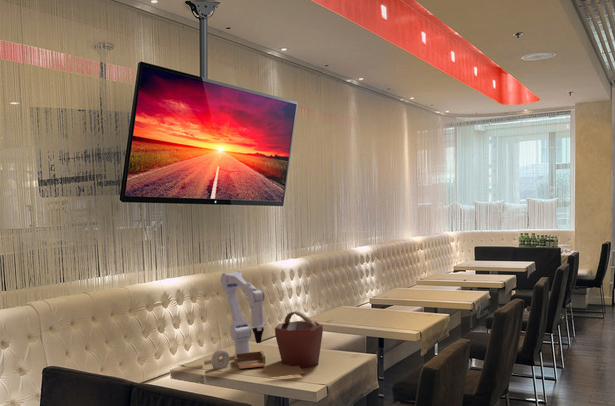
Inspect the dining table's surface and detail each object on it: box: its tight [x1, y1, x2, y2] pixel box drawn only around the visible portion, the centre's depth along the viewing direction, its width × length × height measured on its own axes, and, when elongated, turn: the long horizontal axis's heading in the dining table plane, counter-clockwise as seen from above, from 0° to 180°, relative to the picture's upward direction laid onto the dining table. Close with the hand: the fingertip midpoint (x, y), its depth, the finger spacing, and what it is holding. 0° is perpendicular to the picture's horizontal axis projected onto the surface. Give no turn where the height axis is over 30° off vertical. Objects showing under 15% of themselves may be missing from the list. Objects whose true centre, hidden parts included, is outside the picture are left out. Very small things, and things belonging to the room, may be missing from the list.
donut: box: [210, 348, 230, 370], centre depth 277 cm, size 10×3×10 cm, turn 137°
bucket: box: [274, 311, 324, 370], centre depth 280 cm, size 24×22×25 cm
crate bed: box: [233, 350, 266, 368], centre depth 283 cm, size 11×14×5 cm
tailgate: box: [237, 363, 266, 369], centre depth 274 cm, size 1×12×7 cm
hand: (258, 342), depth 286 cm, fingers closed
